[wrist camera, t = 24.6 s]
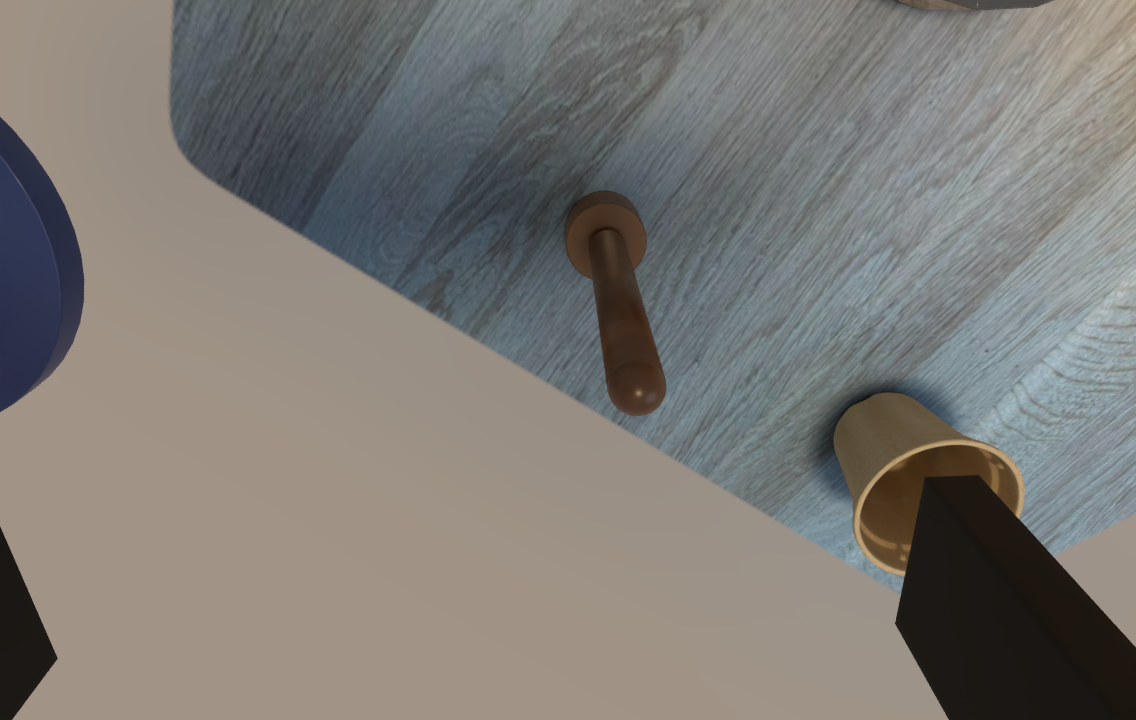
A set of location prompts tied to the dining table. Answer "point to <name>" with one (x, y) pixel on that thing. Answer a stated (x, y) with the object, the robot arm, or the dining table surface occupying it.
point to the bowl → (974, 4)
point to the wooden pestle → (617, 297)
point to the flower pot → (908, 470)
